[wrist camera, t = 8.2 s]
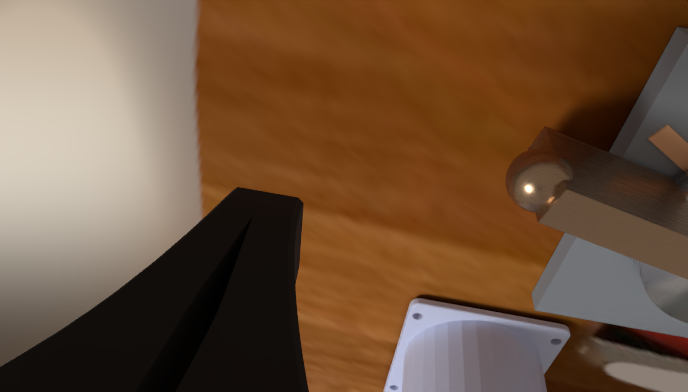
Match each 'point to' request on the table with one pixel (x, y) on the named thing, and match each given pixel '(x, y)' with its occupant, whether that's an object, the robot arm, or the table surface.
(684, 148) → the stand plate
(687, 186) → the cam
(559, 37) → the table surface
